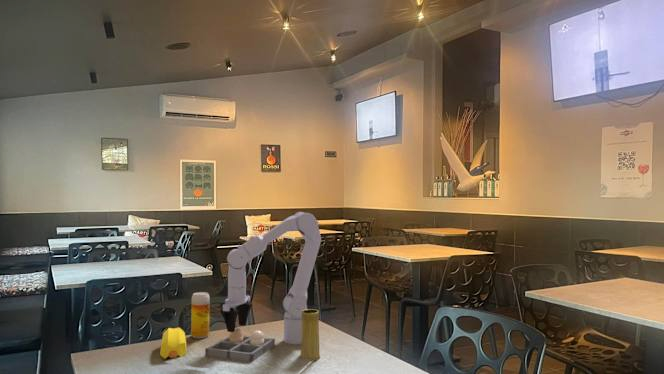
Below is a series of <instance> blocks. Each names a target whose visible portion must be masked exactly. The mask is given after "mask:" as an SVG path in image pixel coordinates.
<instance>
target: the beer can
mask: <svg viewBox="0 0 664 374" xmlns="http://www.w3.org/2000/svg"><path fill="white" fill-rule="evenodd" d="M210 298H211V297H210V294H209V293H208V292H205V291H200V292H194V293H193V294H192V295H191V310H190V312H191V313H190V314H191V317H190V318H191V319H190V320H191V321H190V323H191V324H190V325H191V327H190V332H191V333H190V335H191V336H192V338H193V339H199V340H201V339H206V338H208V336H209V334H210Z"/></svg>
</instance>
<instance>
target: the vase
mask: <svg viewBox="0 0 664 374" xmlns="http://www.w3.org/2000/svg"><path fill="white" fill-rule="evenodd" d="M319 315H320V313H319V310H318V309H314V308H313V309H311V308H309V309H308V308H307V310H303V311H302V335H301V344H300V357H301V358H303V359H309V360H310V362H314V361H317V360H318V361H319V360H320V358H321V355H320V354H321V353H320V327H319V326H320V325H319V324H320V323H319V318H320V316H319Z"/></svg>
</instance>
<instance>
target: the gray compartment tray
mask: <svg viewBox="0 0 664 374" xmlns="http://www.w3.org/2000/svg"><path fill="white" fill-rule="evenodd" d="M250 336H251V335H243V342H241V343H236V342H229V341H230V334H229V335H227V336H225V337H224V338H222V339H220V340H218V341H217V342H215V343H213V344H212V345H210V346H208V347H206V348H204V349H205V352H204V356H205V357H208V358H210V357H211V358H217V359H225V360H232V361H241V362H249V363H253V362H254V361H256V360H257V359H259V358H260V357H261V356H263V355H264V354H265V353H266V352H268V351H270V350H271V349H272V348H273V347H275V344H276V343H275V342H276V341H275V338H272V337H271V338H269V337H264V344H263V345H254V344H250Z"/></svg>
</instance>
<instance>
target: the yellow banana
mask: <svg viewBox="0 0 664 374" xmlns="http://www.w3.org/2000/svg"><path fill="white" fill-rule="evenodd" d="M187 349H188V348H187V338H186V333H185V331H184V329H182V328H181V327H179V326H178V327H174V328H172V327H168V328H167V329H166V330H165V331H164V332H163V333H162V338H161V345H160V351H159V353H160V354H159V355H160V356H161V357H162V358H163V359H164V360H167V359H168V358H170V359H176V358H177V357H178V356H179V357H183V356H185V355H186V354H187V351H188V350H187Z"/></svg>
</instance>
